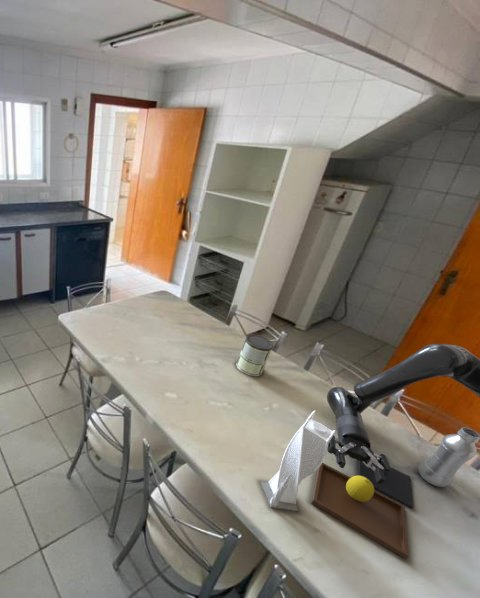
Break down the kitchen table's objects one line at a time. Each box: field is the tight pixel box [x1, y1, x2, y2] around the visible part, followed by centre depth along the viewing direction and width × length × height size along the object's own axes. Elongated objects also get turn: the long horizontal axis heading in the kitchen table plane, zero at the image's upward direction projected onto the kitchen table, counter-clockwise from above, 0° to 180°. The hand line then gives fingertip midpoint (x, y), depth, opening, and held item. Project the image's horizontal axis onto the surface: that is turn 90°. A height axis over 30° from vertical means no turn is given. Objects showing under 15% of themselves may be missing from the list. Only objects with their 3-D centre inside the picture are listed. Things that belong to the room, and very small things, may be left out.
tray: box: [311, 462, 410, 560], centre depth 88 cm, size 20×16×2 cm
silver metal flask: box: [417, 426, 480, 488], centre depth 93 cm, size 6×7×20 cm
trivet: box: [357, 459, 414, 509], centre depth 97 cm, size 12×12×1 cm
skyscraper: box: [260, 410, 337, 512], centre depth 84 cm, size 8×8×28 cm
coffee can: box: [235, 333, 274, 377], centre depth 136 cm, size 10×10×14 cm
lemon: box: [346, 475, 375, 502], centre depth 89 cm, size 6×6×8 cm
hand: (361, 473), depth 91 cm, fingers open, 8 cm apart
